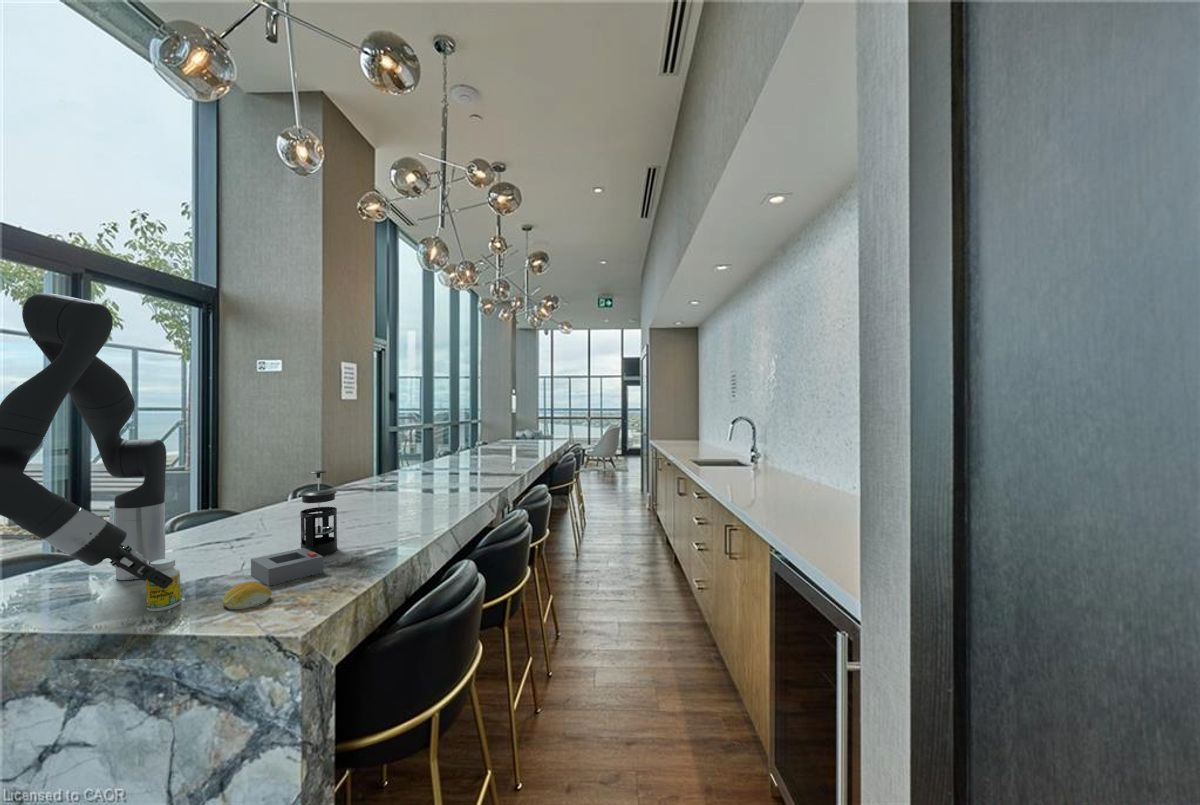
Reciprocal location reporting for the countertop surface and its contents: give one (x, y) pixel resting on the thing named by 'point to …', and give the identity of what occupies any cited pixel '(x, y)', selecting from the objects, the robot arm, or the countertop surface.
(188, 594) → the countertop surface
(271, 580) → the socket block
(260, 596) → the bread roll
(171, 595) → the supplement bottle
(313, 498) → the french press
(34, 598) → the countertop surface
